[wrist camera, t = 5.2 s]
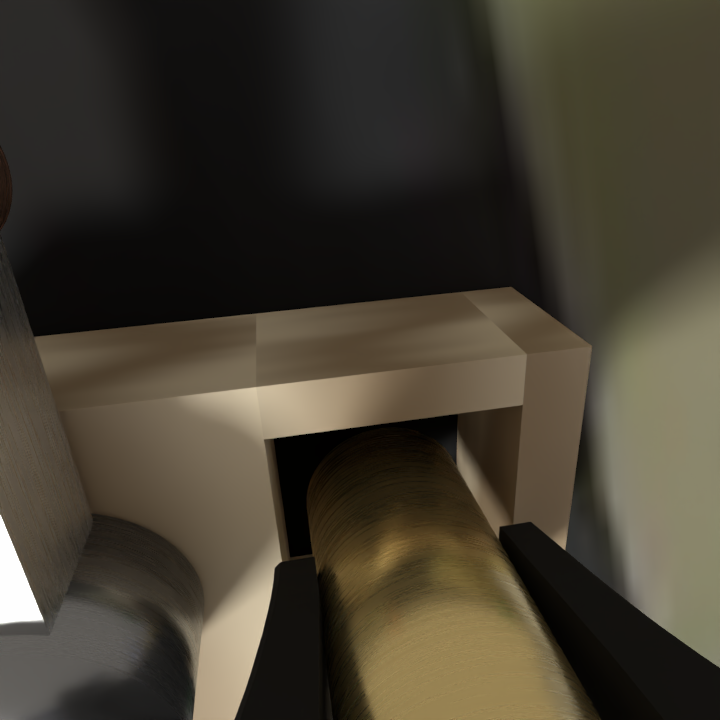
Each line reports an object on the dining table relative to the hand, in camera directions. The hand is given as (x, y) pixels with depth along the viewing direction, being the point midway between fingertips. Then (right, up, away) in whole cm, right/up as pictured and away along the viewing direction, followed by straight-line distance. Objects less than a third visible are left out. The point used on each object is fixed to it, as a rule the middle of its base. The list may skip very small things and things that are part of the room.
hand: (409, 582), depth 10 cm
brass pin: (0, +1, +2) cm, 2 cm away
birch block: (-3, +1, +3) cm, 5 cm away
